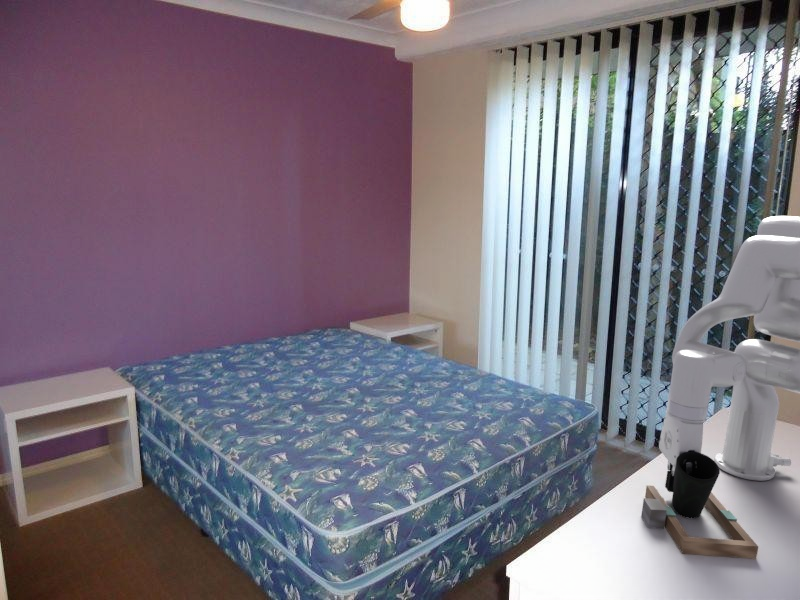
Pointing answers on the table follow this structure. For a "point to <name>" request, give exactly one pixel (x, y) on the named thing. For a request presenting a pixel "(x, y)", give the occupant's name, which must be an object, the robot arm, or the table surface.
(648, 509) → the beam slot
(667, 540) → the table surface
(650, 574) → the table surface
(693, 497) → the cup
